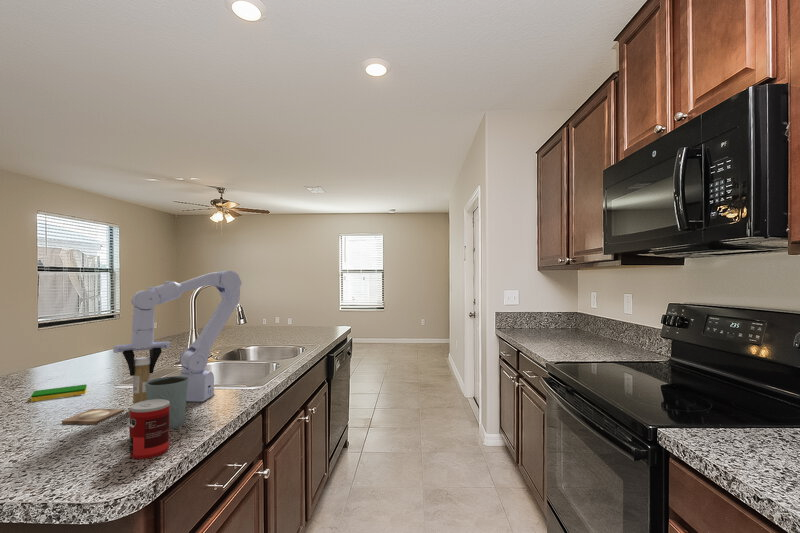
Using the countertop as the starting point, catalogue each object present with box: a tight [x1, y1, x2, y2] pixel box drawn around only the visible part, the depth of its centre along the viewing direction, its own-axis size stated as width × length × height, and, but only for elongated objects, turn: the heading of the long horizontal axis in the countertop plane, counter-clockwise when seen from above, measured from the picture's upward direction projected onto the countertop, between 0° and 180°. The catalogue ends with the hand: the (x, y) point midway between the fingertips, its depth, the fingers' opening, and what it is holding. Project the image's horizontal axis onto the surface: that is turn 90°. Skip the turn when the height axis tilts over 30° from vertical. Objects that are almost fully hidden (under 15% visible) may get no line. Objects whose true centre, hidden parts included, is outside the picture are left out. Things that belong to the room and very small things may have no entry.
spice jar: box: [132, 356, 151, 405], centre depth 123 cm, size 5×5×14 cm
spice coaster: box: [61, 408, 125, 425], centre depth 115 cm, size 10×10×1 cm
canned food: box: [128, 399, 170, 460], centre depth 92 cm, size 8×8×11 cm
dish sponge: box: [30, 384, 88, 403], centre depth 136 cm, size 7×14×2 cm, turn 125°
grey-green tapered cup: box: [145, 375, 188, 430], centre depth 110 cm, size 10×10×12 cm
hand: (141, 374), depth 123 cm, fingers closed on spice jar, 4 cm apart
